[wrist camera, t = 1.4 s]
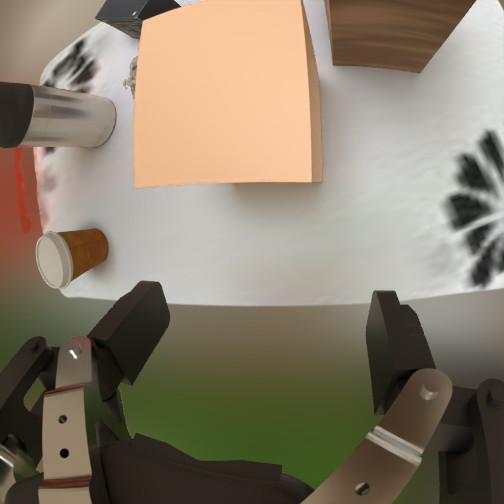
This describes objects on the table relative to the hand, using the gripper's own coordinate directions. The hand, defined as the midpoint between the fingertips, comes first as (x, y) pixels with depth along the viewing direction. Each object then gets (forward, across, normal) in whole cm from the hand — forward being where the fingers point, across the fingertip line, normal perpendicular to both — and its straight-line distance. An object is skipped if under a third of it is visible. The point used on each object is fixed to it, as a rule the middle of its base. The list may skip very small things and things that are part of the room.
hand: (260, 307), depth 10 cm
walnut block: (+31, -12, -21) cm, 39 cm away
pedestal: (+29, +3, -5) cm, 29 cm away
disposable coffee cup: (+28, +36, +11) cm, 47 cm away
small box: (+35, +21, -26) cm, 49 cm away
